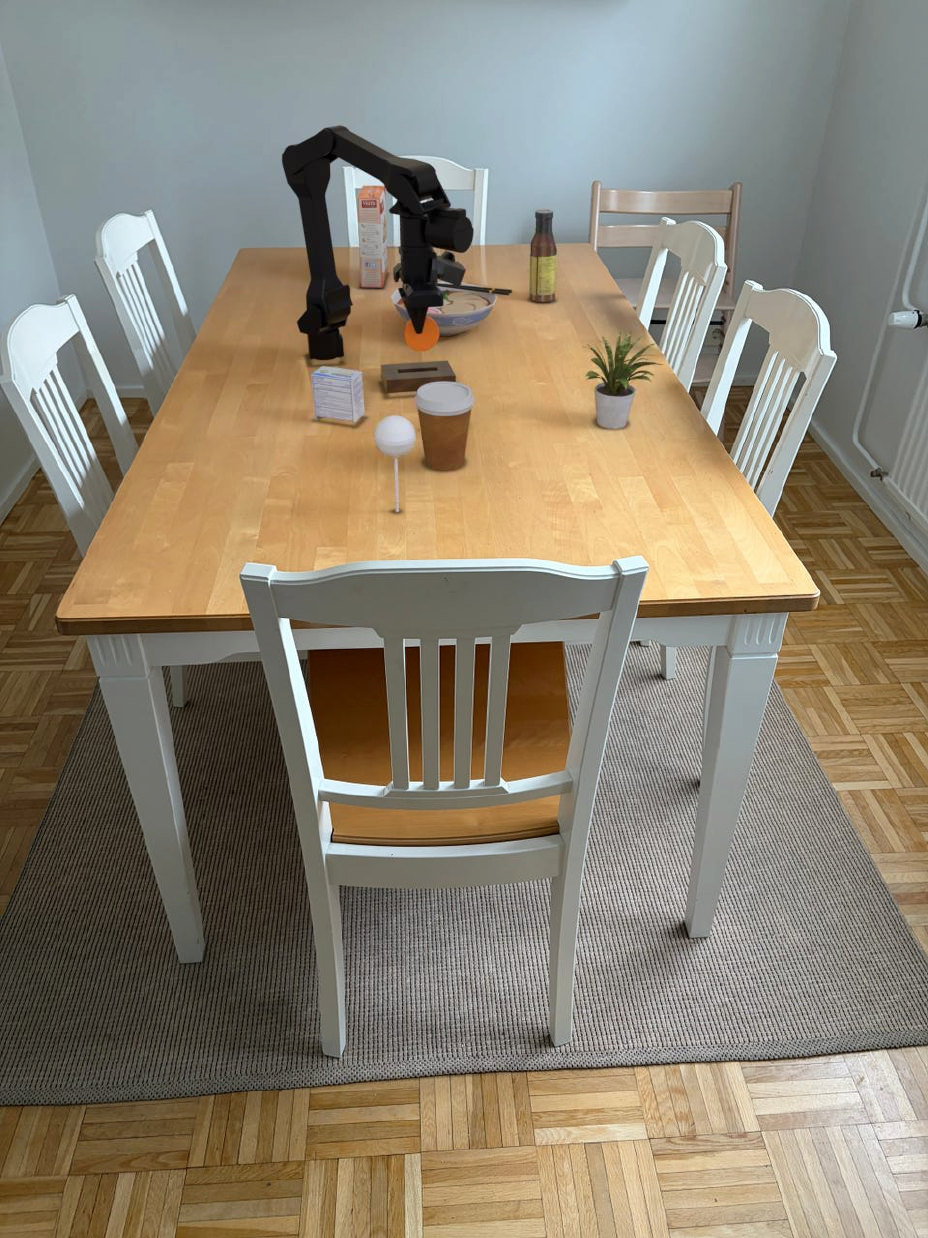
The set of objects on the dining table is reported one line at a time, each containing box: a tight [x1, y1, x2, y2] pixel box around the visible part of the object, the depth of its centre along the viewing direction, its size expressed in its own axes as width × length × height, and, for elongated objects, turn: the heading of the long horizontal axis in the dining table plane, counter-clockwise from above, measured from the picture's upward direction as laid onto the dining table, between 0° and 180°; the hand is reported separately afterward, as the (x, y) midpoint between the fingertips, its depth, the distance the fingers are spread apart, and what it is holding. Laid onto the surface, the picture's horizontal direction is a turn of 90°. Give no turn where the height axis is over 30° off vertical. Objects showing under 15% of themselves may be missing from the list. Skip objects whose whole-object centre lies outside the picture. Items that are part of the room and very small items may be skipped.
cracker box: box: [356, 185, 388, 289], centre depth 231 cm, size 14×6×21 cm, turn 179°
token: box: [403, 316, 440, 353], centre depth 175 cm, size 6×1×6 cm, turn 102°
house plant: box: [583, 329, 664, 430], centre depth 163 cm, size 14×14×16 cm
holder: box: [380, 360, 457, 394], centre depth 180 cm, size 13×8×4 cm, turn 102°
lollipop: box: [373, 414, 417, 513], centre depth 137 cm, size 6×6×15 cm
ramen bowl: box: [390, 281, 513, 337], centre depth 205 cm, size 25×23×8 cm
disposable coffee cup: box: [413, 381, 476, 471], centre depth 152 cm, size 10×10×12 cm
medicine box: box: [310, 365, 366, 423], centre depth 166 cm, size 8×4×9 cm, turn 71°
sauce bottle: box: [528, 208, 558, 304], centre depth 221 cm, size 7×6×20 cm
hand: (418, 331), depth 175 cm, fingers closed on token, 1 cm apart
